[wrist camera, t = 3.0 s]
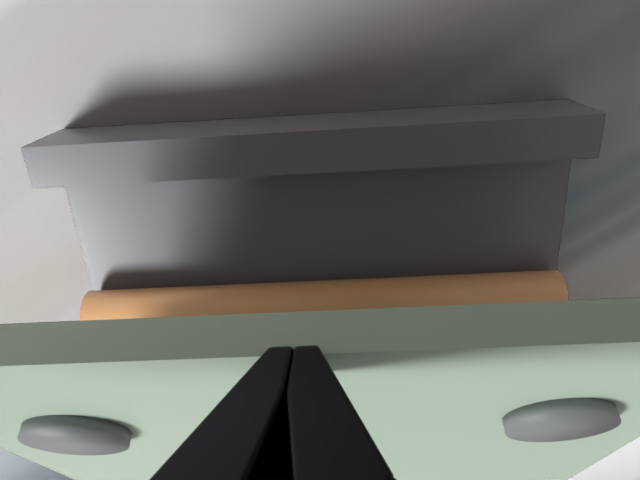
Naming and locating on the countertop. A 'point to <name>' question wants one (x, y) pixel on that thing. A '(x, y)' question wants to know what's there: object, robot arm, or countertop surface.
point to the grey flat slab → (321, 208)
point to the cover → (354, 376)
